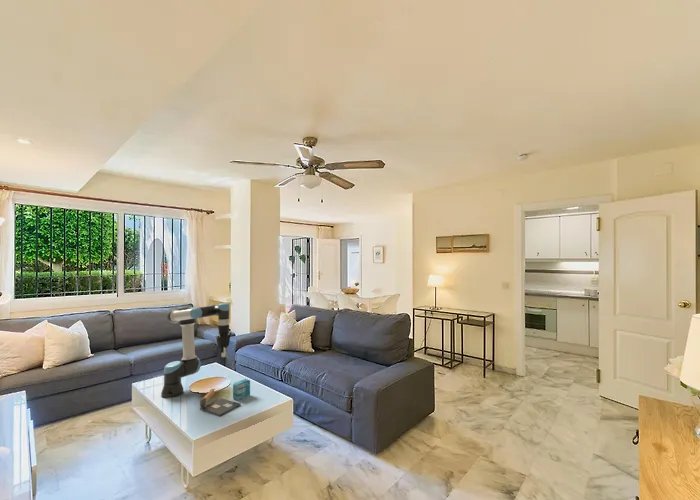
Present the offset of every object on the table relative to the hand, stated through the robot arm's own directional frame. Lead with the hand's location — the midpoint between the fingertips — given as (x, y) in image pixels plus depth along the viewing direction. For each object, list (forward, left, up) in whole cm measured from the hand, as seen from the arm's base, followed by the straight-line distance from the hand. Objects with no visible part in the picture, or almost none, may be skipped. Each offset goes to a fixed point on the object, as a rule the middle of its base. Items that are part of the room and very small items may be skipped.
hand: (223, 356), depth 240 cm
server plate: (+7, -8, -32) cm, 34 cm away
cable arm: (-6, -8, -29) cm, 31 cm away
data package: (+7, +11, -33) cm, 35 cm away
